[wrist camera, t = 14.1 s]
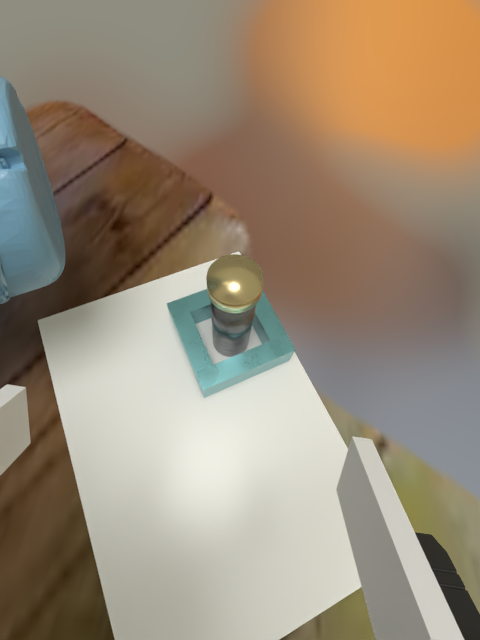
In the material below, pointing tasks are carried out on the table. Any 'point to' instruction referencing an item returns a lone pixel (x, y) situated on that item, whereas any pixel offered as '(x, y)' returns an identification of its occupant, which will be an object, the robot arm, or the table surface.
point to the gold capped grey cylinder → (233, 301)
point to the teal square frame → (239, 366)
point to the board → (197, 475)
